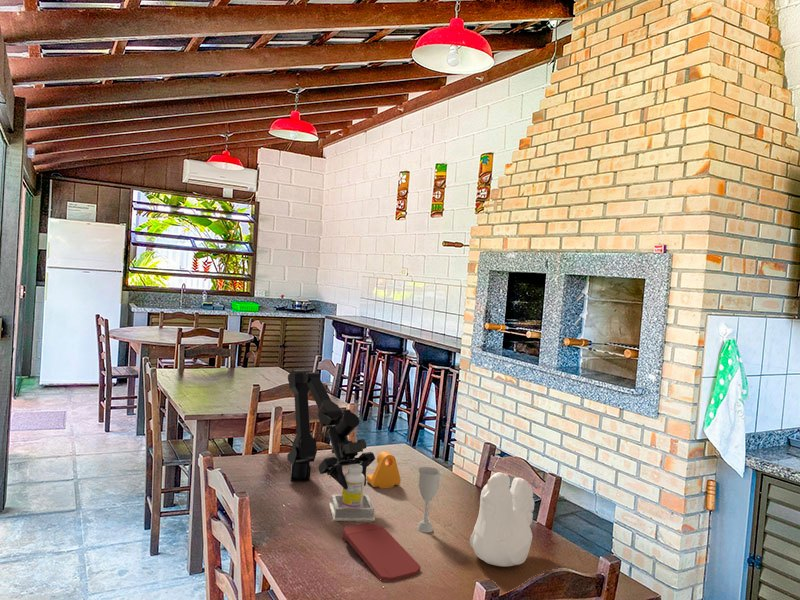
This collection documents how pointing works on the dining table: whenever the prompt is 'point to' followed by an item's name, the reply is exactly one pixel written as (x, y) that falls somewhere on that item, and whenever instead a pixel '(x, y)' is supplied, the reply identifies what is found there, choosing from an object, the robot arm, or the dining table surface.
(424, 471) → the chalice
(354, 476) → the supplement bottle
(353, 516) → the square shallow tray
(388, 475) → the bracket
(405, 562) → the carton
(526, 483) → the white bunny figurine
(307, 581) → the dining table surface
